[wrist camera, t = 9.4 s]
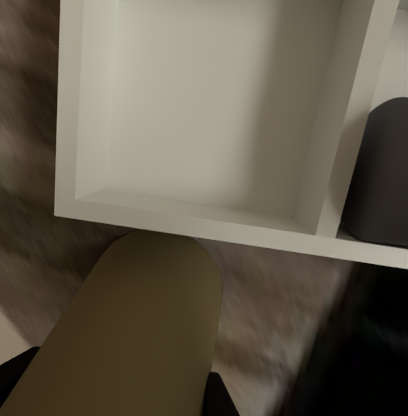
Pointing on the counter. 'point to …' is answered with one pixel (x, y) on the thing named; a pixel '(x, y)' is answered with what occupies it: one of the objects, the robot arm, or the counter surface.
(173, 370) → the cork
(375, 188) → the dark grey cylinder
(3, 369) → the robot arm
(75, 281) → the counter surface
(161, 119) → the slot tray
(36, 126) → the counter surface
